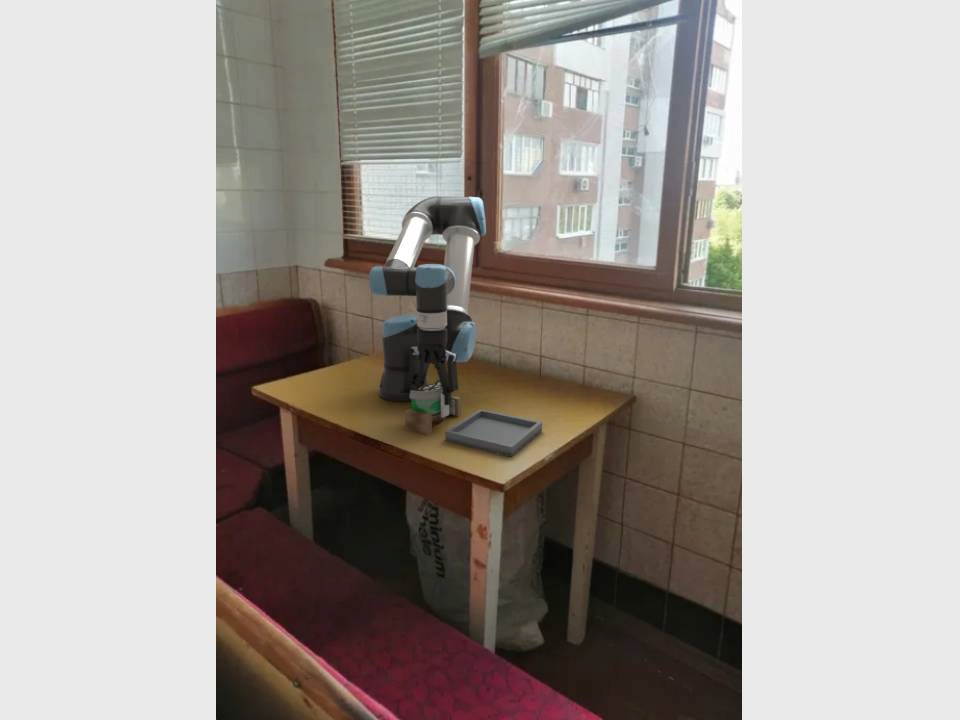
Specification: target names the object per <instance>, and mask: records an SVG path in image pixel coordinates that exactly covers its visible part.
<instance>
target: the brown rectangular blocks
mask: <svg viewBox="0 0 960 720" xmlns="http://www.w3.org/2000/svg"><path fill="white" fill-rule="evenodd" d="M448 416H452V417H453V416H454V417H460V416H462V397H460V396H455V395H452V394H451V404H449V415H448ZM404 422H405V424H404V426H405V430H406V431H410V432H414V433H419V434H421V435H422V434H423V435H426V436H429V435H431V434H433V426H432V414H428V413H423V412H419V411H415V410H412V409H411V408H408V409H406V410H405V411H404Z"/></svg>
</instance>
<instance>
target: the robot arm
mask: <svg viewBox="0 0 960 720" xmlns="http://www.w3.org/2000/svg"><path fill="white" fill-rule="evenodd" d="M484 205H485V204H484V201H483V199H482V198H480V197H478V196H477V197H475V196H469V195H468V196H431V197H428V198H425V199H423V200H420V201H419V202H418V203H416V204H414V205H413V206H412V207H411V208H410V209H409V210H408V211H407V212H405V213H406V214H405V215H404V216H403V219H402V221H401V230H400V233H399V235H398V237H397V239H396V241H395V243H394V245H393V248H392V249H391V252H389V255H388V257H387V259H386V262H385V264H384V265H383V266H382V265H379V266H373V267H372V268H371V270H369V271H370V272H369V275H368V284H369V289H370V292H371V293H372V294H373V295H377V296H386V297H387V296H388V297H390V296H399V297H400V296H402V297H403V296H407V297H408V296H409V297H415V298H416V299H415V301H416V302H415V303H416V313H413V314H412V313H410V314H402V315H398V316H392V317H390V318H388V319H386V320H385V321H383V324H382V334H381V338H382V352H383V353H382V354H383V371H382V376H381V379H380V382H379V386H378V392H379V393H378V395H379V396H380V398H382V399H384V400H386V401H391V402H399V403H401V402H411V398H409V397H410V390H413V391H417V390H419V389H421V388H422V387H424V386H425V385H430V384H431V383H430V382H429V379H428V376H427V375H428V371H429V367H430V365H431V364H432V365H434V369H436V371H437V375H438V379H440V382H441V386H442V389H443V392H442V393H441V417H442V418H443V419H444V418H446V417H447V416H450V415H449V404H451V395H452V393H454V392H457V390H458V389H459V381H458V380H459V379H458V369H457V367H458V366H457V363H466V362H468V361H469V360H470V359H471V357H473V356H472V355H473V353H474V350H475V345H476V340H477V324H476V323H475V322H474V321H473V319H472V318H473V317H472V315H470V314H469V313H468V311H469V302H470V301H469V300H470V293H471V292H470V291H471V281H472V272H473V261H474V254H475V253H474V251H475V246H476V245H478V244H479V242H480V239H481V237H483V236H485V235H486V234H487V225H486V224H487V223H486V215H485V214H486V213H485V207H484ZM434 235H436V236H437V235H439V236H442V238H443V241H445V242H446V244H445V253H444V262H443V264H439V263H438V264H437V263H427V264H426V263H425V264H419V265H418V266H416V263H417V261H418V258H419V257H420V254H421V251H422V249H423V246H424V244H425V242H426V240H428V239H429V238H430V237H431V236H434ZM415 266H416V267H415Z"/></svg>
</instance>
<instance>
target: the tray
mask: <svg viewBox="0 0 960 720" xmlns="http://www.w3.org/2000/svg"><path fill="white" fill-rule="evenodd" d="M541 431H542V432H543V421H538V420H535V419H529V418H524V417H521V416H515V415H510V414H506V413H501V412H496V411H493V410H492V411H491V410H487V409H486V410H485V409H482V408H479V409H478V410H477V411H475V412H473V413H471V414H470V415H469V416H467V417H465V418H463V420H460V421H459V422H457V423H456V424H454V425H453V426H451V427H449V428H448V429H447V430H445V431H444V432H445V434H444V435H445V438H444V440H445V442H449V443H453V444H456V445H460V446H465V447H467V448H468V447H469V448H473V449H477V450H480V449H481V450H480V451H484V450H486V451H485V452H488V451H490V452H489V453H492V452H494V453H493V454H496V453H499V454H498V455H500V454H503V455H502V456H504V455H507V456H506V457H508V456H511V457H510V458H513V457H514V456H515V455H516V454H517V453H518V452H519V451H521V450H522V449H523V448H524V447H525V446H527V445H528V444H529V443H530V442H531V441H533V438H534V437H535V436H536V437H537V436H539V435H540V434H541V433H542V432H541ZM540 432H541V433H540ZM536 437H535V438H536ZM535 438H534V439H535ZM530 440H531V441H530ZM529 441H530V442H529ZM528 442H529V443H528ZM527 443H528V444H527ZM526 444H527V445H526ZM524 445H525V446H524ZM523 446H524V447H523ZM522 447H523V448H522ZM521 448H522V449H521ZM520 449H521V450H520ZM517 451H518V452H517ZM515 453H516V454H515ZM514 454H515V455H514ZM513 455H514V456H513Z"/></svg>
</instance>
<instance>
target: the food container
mask: <svg viewBox="0 0 960 720" xmlns="http://www.w3.org/2000/svg"><path fill="white" fill-rule="evenodd" d="M442 392H443V389H442V386H441V382H440V379H439V377H436V381H434V382H433V383H430V385H425V386H424V387H422V388H421V389H419V390H417V391H413V390H410V397H409V398H411V401H410V402H411V410H415V411H419V412H423V413H428V414H432V427H435V426H438V425H441V424H442V423H443V421H444V418H442V417H441V393H442Z"/></svg>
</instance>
